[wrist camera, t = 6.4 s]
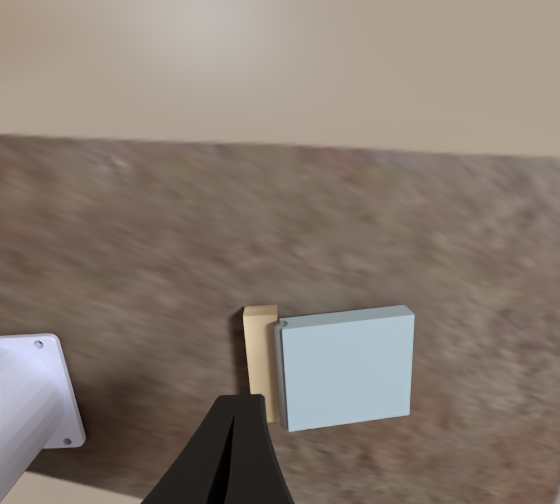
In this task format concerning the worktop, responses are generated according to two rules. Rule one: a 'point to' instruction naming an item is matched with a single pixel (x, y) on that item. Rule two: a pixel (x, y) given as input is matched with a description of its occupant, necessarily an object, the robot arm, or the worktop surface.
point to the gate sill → (262, 355)
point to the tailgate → (343, 366)
